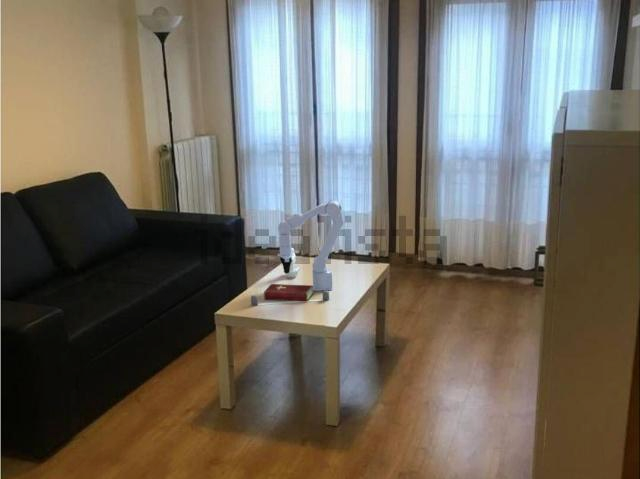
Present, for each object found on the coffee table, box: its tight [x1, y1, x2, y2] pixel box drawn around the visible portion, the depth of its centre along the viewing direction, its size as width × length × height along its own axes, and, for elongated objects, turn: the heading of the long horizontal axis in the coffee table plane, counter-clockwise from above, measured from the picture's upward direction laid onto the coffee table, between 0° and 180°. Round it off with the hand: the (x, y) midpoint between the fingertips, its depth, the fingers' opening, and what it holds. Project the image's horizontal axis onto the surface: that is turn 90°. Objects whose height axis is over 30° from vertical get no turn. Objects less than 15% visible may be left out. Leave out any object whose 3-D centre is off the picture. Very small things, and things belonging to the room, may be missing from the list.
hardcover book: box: [263, 283, 315, 302], centre depth 310 cm, size 12×21×4 cm, turn 77°
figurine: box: [283, 247, 301, 278], centre depth 340 cm, size 7×9×15 cm
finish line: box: [250, 290, 330, 307], centre depth 302 cm, size 36×3×4 cm, turn 97°
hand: (286, 272), depth 320 cm, fingers closed
